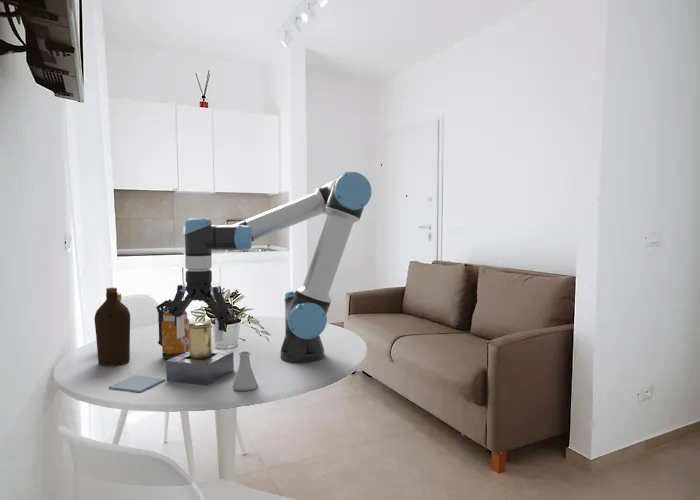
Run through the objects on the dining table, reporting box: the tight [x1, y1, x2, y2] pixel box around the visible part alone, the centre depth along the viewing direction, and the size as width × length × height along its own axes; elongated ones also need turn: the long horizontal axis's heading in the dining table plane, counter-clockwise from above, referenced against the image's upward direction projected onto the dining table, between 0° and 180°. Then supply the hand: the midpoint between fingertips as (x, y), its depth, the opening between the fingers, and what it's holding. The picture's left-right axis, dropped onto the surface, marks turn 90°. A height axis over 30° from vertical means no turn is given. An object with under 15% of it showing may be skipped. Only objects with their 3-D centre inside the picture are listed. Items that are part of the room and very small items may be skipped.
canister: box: [155, 298, 190, 360], centre depth 159 cm, size 9×11×20 cm
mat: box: [108, 374, 166, 393], centre depth 133 cm, size 11×10×1 cm
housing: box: [165, 349, 235, 386], centre depth 140 cm, size 14×14×6 cm
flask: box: [232, 350, 259, 392], centre depth 130 cm, size 7×7×10 cm
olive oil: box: [93, 287, 131, 367], centre depth 153 cm, size 11×11×25 cm
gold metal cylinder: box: [189, 320, 213, 361], centre depth 140 cm, size 6×6×16 cm
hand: (199, 339), depth 140 cm, fingers open, 13 cm apart
